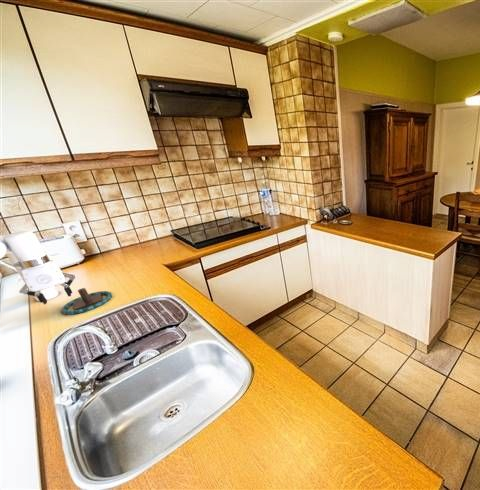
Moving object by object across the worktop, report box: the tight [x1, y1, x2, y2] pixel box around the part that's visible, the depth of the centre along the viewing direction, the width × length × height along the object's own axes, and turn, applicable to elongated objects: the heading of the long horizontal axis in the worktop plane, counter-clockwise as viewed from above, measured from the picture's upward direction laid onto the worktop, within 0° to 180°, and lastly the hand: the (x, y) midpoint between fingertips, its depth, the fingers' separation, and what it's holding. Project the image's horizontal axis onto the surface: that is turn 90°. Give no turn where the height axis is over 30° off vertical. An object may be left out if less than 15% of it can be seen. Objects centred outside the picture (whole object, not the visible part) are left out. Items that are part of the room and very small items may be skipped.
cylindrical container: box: [5, 252, 59, 302], centre depth 123 cm, size 7×7×25 cm
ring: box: [60, 290, 113, 316], centre depth 120 cm, size 17×17×2 cm
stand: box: [73, 287, 103, 311], centre depth 119 cm, size 9×9×8 cm
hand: (57, 298), depth 113 cm, fingers open, 6 cm apart
